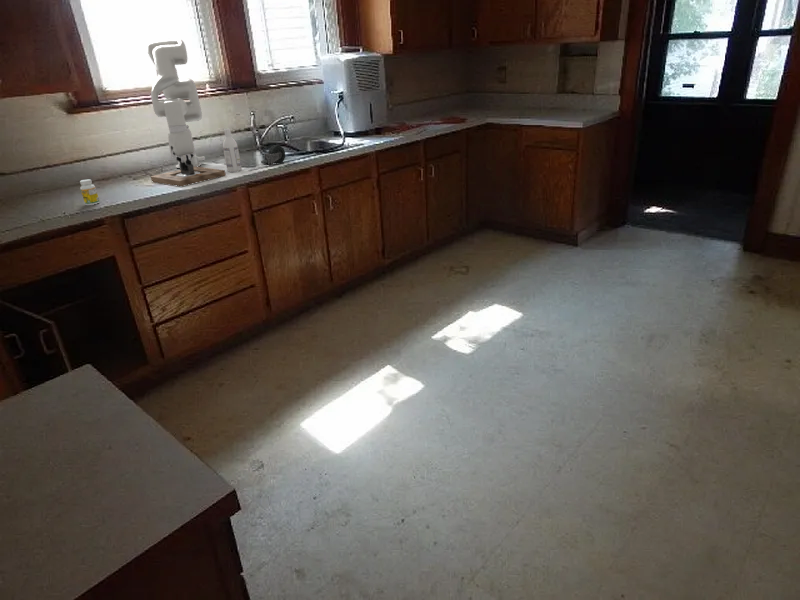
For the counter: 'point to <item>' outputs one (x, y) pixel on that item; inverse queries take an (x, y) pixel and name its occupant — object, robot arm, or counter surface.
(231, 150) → the bath foam
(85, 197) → the supplement bottle
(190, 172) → the dial
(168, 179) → the brown wooden square frame
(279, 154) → the caster wheel
